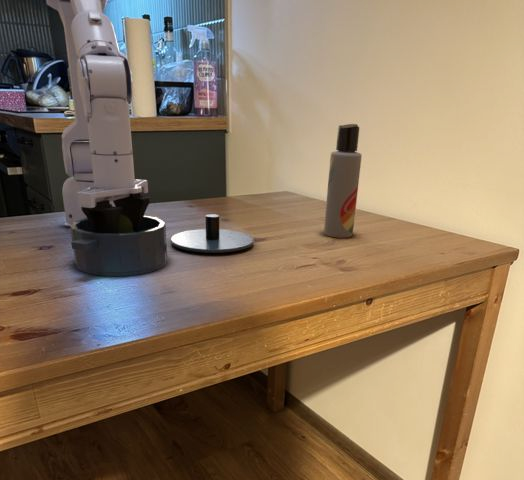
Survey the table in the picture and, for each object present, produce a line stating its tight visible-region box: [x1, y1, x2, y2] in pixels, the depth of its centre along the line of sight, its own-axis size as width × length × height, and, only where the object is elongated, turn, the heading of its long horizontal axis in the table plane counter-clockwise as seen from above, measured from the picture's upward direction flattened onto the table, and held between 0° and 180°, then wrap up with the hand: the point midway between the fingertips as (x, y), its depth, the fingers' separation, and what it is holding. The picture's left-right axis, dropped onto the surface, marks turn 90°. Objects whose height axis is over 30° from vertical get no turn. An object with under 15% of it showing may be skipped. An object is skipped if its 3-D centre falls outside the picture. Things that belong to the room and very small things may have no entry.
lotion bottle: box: [323, 123, 363, 239], centre depth 94 cm, size 6×6×20 cm
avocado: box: [118, 214, 135, 234], centre depth 76 cm, size 5×5×7 cm
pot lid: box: [170, 213, 255, 254], centre depth 88 cm, size 15×15×5 cm
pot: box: [69, 215, 168, 277], centre depth 76 cm, size 14×19×6 cm
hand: (121, 248), depth 76 cm, fingers closed on avocado, 5 cm apart
